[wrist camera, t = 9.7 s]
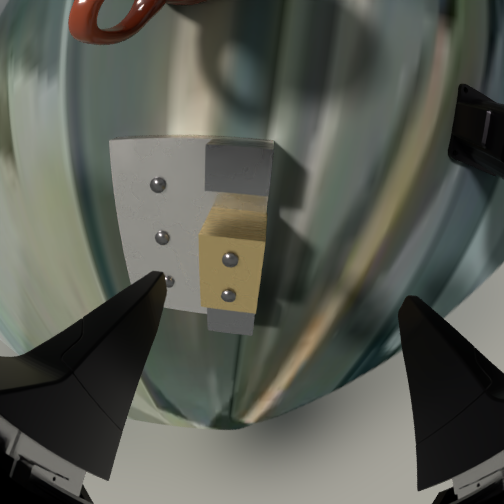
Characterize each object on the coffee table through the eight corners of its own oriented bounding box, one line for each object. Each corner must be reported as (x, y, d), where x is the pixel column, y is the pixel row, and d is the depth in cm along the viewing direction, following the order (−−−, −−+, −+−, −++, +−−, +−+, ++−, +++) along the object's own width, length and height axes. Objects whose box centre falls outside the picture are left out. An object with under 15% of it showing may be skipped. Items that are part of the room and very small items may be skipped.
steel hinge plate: (273, 140, 18) (273, 149, 15) (254, 310, 26) (252, 335, 24) (117, 137, 18) (94, 146, 15) (139, 294, 27) (128, 316, 24)
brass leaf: (267, 213, 19) (265, 243, 16) (258, 278, 23) (255, 315, 19) (211, 207, 20) (197, 236, 16) (211, 273, 23) (200, 308, 19)
